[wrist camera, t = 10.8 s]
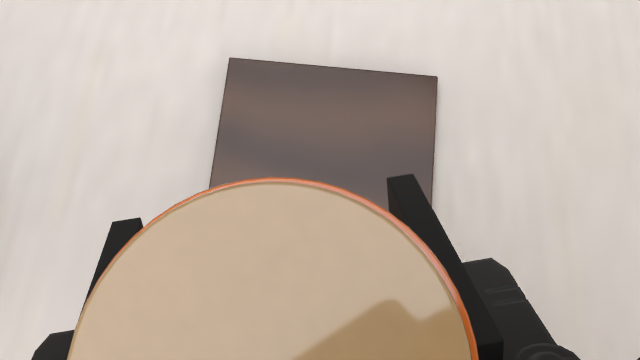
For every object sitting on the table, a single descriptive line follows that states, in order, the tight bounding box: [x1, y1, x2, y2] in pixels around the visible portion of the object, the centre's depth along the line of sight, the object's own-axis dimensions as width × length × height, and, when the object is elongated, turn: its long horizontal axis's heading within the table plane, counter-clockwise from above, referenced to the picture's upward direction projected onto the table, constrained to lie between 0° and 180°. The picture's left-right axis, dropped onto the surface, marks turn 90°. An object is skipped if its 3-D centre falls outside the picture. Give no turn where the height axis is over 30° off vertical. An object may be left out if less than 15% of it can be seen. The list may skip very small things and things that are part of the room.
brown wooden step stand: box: [209, 58, 438, 211], centre depth 31 cm, size 24×13×8 cm, turn 174°
